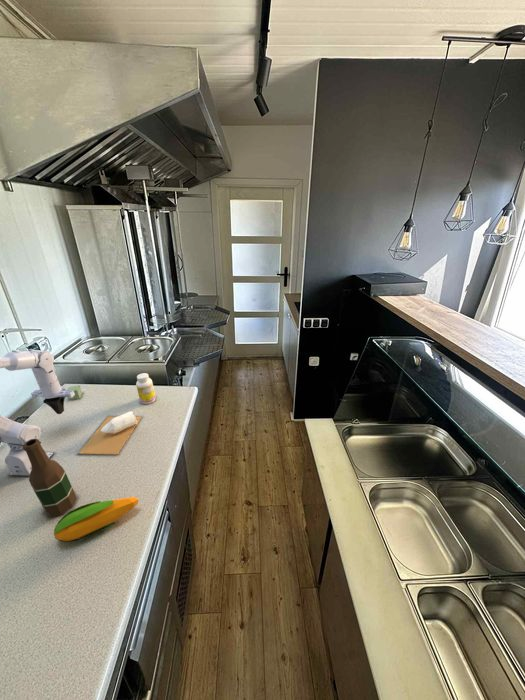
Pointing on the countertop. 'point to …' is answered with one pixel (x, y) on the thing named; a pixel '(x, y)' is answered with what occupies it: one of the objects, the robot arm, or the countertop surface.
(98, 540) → the countertop surface
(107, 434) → the mat
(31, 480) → the beer bottle
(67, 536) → the corn
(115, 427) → the white radish
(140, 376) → the supplement bottle
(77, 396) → the block
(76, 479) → the countertop surface
